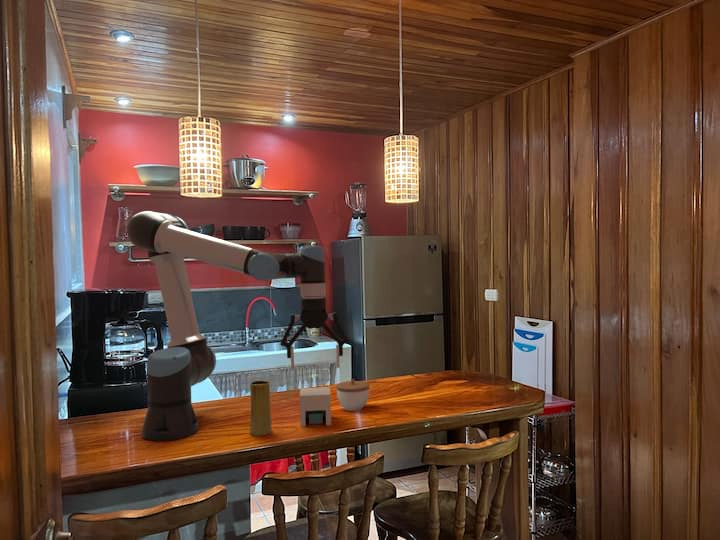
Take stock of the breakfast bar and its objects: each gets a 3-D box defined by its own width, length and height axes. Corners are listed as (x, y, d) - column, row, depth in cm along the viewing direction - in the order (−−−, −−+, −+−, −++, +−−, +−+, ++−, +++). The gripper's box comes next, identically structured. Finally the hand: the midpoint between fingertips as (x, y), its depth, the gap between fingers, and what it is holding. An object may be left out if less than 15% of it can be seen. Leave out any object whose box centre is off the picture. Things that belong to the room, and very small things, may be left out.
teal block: (309, 420, 157) (308, 410, 157) (322, 419, 157) (322, 409, 157) (309, 424, 153) (309, 414, 153) (322, 423, 153) (322, 413, 153)
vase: (246, 435, 143) (245, 384, 143) (254, 428, 149) (253, 379, 149) (268, 436, 142) (267, 385, 142) (274, 429, 148) (273, 380, 148)
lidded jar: (366, 413, 162) (365, 384, 162) (333, 412, 164) (332, 383, 164) (372, 404, 172) (371, 376, 172) (341, 403, 174) (340, 375, 174)
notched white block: (301, 417, 159) (300, 388, 159) (330, 416, 160) (329, 387, 160) (300, 426, 150) (299, 395, 150) (331, 425, 151) (330, 394, 151)
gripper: (353, 295, 159) (355, 363, 160) (272, 298, 157) (274, 367, 158) (355, 296, 152) (357, 368, 152) (270, 299, 150) (272, 372, 150)
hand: (315, 368), depth 155 cm, fingers open, 13 cm apart
